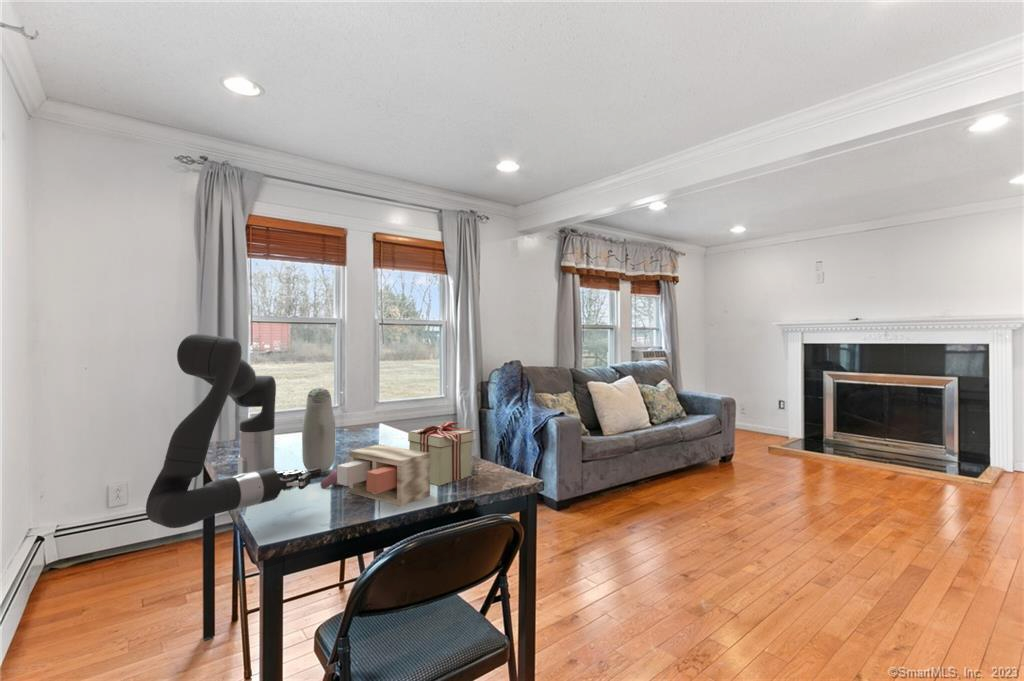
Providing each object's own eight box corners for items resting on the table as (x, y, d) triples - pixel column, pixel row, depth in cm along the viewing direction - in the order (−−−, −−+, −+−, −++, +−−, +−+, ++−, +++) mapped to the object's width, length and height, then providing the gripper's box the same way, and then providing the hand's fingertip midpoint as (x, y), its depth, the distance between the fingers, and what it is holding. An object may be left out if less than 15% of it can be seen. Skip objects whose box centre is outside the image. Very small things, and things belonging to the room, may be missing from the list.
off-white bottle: (297, 472, 163) (297, 388, 163) (327, 466, 170) (327, 386, 170) (309, 478, 156) (309, 390, 156) (340, 472, 163) (340, 388, 163)
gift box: (450, 489, 144) (450, 430, 144) (404, 479, 154) (405, 425, 154) (484, 475, 159) (484, 422, 159) (440, 467, 169) (440, 417, 169)
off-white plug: (346, 485, 132) (346, 467, 132) (337, 483, 134) (337, 465, 134) (370, 479, 139) (370, 461, 139) (360, 476, 141) (360, 459, 141)
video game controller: (330, 494, 144) (340, 473, 144) (318, 486, 145) (327, 465, 145) (348, 484, 154) (357, 465, 154) (336, 477, 155) (345, 458, 154)
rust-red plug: (376, 493, 125) (377, 474, 125) (366, 490, 128) (366, 471, 128) (400, 485, 132) (400, 467, 132) (389, 483, 134) (389, 465, 134)
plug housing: (401, 506, 129) (401, 460, 129) (349, 492, 141) (349, 451, 141) (429, 495, 138) (430, 453, 138) (379, 483, 150) (379, 444, 150)
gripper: (269, 475, 109) (335, 460, 123) (238, 468, 116) (304, 454, 131) (269, 509, 109) (335, 490, 123) (237, 499, 116) (304, 483, 131)
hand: (319, 472), depth 127 cm, fingers closed
